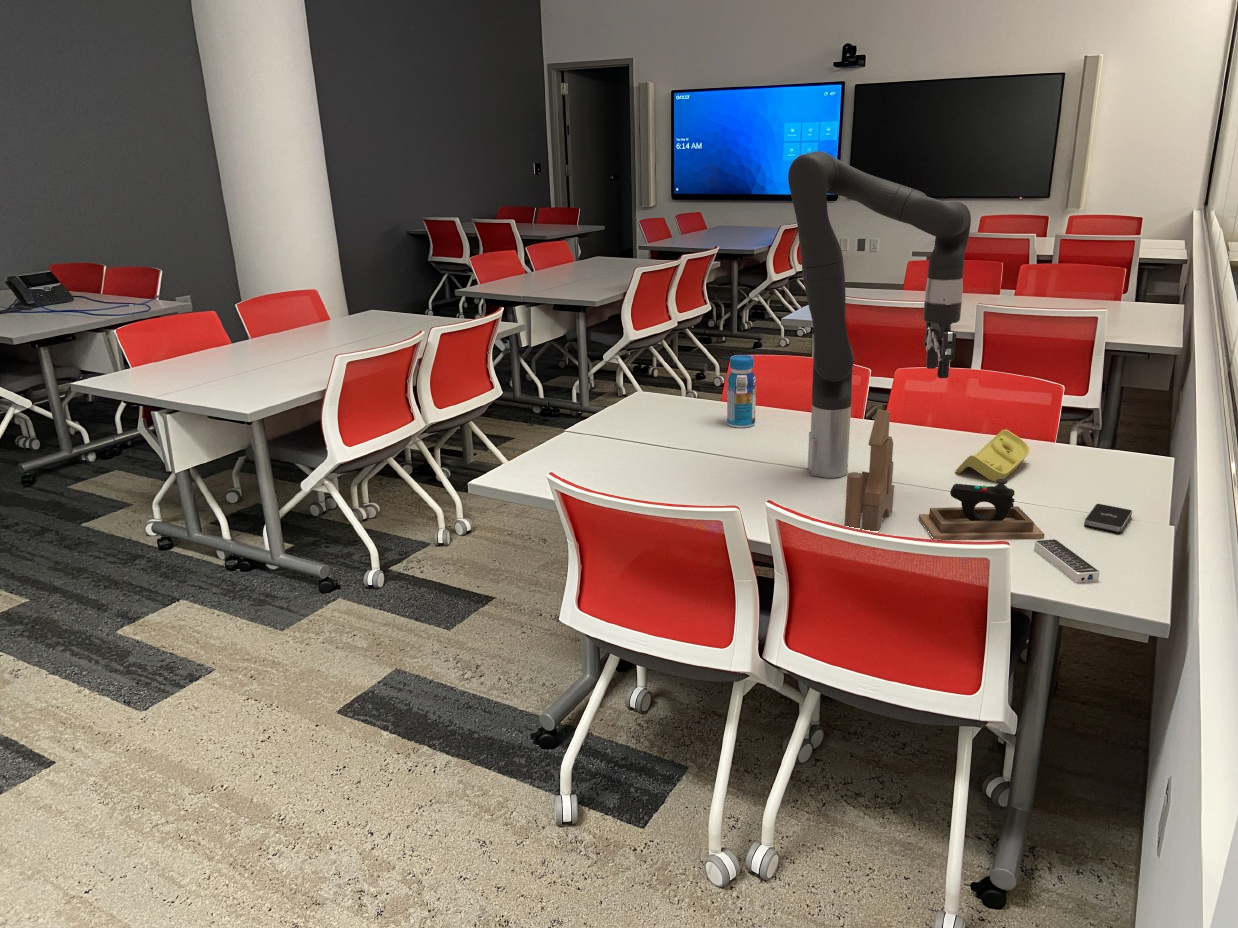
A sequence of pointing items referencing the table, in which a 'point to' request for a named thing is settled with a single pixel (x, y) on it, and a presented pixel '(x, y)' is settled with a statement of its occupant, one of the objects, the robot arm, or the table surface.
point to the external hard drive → (1108, 518)
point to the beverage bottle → (741, 392)
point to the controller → (984, 499)
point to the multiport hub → (1067, 561)
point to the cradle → (979, 525)
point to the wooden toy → (872, 481)
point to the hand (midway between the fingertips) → (936, 373)
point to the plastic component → (998, 456)
